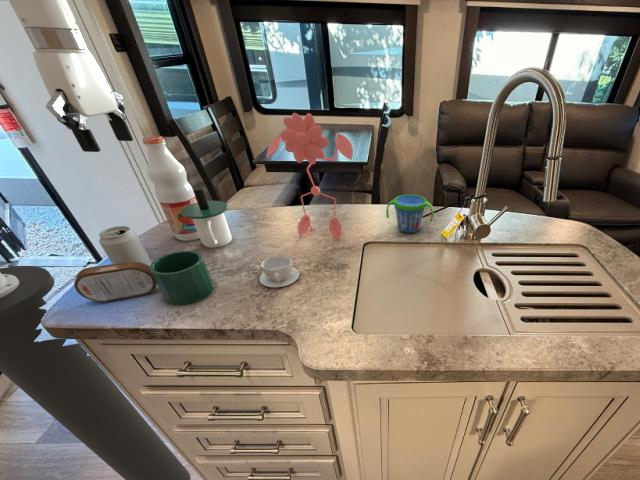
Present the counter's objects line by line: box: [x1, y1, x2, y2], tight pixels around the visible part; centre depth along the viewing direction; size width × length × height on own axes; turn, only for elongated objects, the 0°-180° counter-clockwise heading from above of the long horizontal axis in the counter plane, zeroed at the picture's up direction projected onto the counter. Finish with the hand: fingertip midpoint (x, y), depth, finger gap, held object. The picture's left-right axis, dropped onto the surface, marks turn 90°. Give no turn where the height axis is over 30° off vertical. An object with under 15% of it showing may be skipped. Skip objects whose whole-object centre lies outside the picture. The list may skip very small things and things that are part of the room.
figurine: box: [265, 112, 354, 253], centre depth 90 cm, size 15×26×35 cm, turn 80°
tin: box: [73, 262, 158, 303], centre depth 73 cm, size 15×3×8 cm, turn 113°
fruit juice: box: [141, 135, 200, 242], centre depth 93 cm, size 9×9×28 cm
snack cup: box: [385, 193, 434, 234], centre depth 106 cm, size 16×10×10 cm
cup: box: [193, 212, 233, 249], centre depth 94 cm, size 8×12×10 cm
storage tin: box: [149, 250, 215, 306], centre depth 75 cm, size 10×10×8 cm
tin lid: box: [181, 186, 229, 219], centre depth 89 cm, size 12×12×7 cm
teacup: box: [259, 254, 300, 288], centre depth 82 cm, size 10×10×5 cm
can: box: [98, 225, 153, 266], centre depth 80 cm, size 8×8×12 cm
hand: (110, 145), depth 68 cm, fingers open, 9 cm apart
